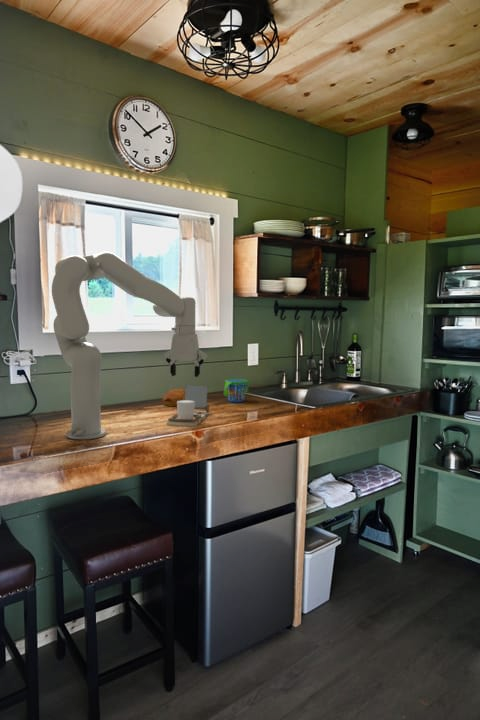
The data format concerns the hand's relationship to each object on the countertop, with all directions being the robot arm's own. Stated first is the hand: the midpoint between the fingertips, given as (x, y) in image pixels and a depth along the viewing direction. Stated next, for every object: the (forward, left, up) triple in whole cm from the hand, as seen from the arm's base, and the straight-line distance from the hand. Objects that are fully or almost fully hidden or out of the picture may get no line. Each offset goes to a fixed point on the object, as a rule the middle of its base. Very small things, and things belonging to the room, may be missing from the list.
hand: (185, 375), depth 188 cm
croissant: (+35, +14, -18) cm, 42 cm away
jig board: (+6, 0, -18) cm, 19 cm away
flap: (+15, 0, -11) cm, 19 cm away
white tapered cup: (0, 0, -17) cm, 17 cm away
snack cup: (+48, -11, -18) cm, 52 cm away
